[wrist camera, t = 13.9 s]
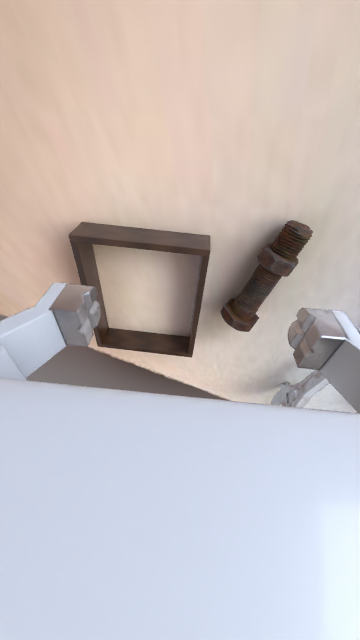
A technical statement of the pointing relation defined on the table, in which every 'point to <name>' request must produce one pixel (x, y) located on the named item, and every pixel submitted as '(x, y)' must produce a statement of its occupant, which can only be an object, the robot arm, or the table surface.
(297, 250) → the bolt
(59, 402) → the robot arm
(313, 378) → the wrench
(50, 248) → the table surface
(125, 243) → the rectangular frame
